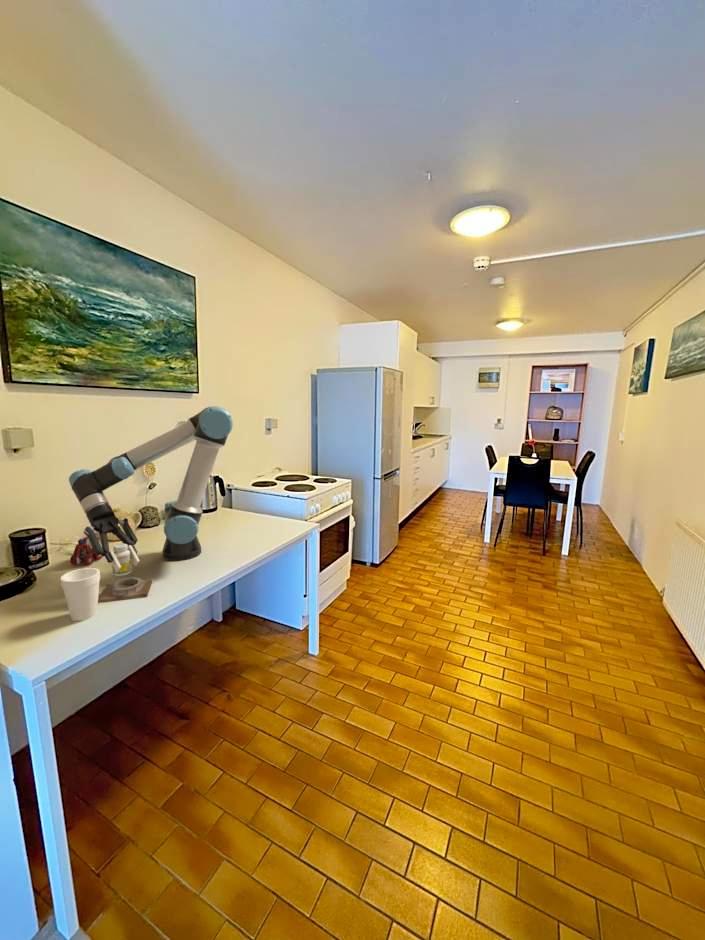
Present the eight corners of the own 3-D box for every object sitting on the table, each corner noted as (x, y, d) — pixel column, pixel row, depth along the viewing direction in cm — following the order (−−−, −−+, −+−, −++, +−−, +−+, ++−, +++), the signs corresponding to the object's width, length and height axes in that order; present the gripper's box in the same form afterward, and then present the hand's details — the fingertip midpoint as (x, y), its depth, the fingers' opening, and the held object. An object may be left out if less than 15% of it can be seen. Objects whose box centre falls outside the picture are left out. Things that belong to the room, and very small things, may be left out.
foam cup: (109, 607, 120) (106, 568, 118) (90, 623, 111) (86, 581, 109) (78, 607, 119) (74, 567, 117) (56, 623, 110) (52, 581, 108)
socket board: (152, 582, 137) (151, 574, 137) (147, 596, 127) (146, 588, 127) (107, 587, 133) (106, 579, 132) (98, 602, 122) (97, 593, 122)
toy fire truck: (66, 568, 147) (63, 542, 145) (90, 555, 159) (88, 531, 158) (83, 569, 147) (80, 543, 145) (106, 556, 159) (104, 532, 157)
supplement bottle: (132, 574, 128) (130, 546, 126) (113, 577, 125) (111, 549, 123) (130, 568, 132) (128, 541, 131) (112, 571, 129) (110, 544, 127)
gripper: (121, 510, 141) (150, 562, 136) (64, 522, 125) (94, 582, 120) (128, 498, 138) (158, 551, 132) (70, 509, 122) (102, 570, 116)
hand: (128, 566), depth 126 cm, fingers closed on supplement bottle, 5 cm apart
